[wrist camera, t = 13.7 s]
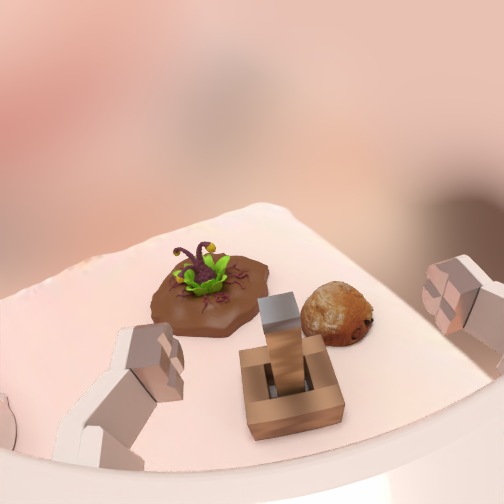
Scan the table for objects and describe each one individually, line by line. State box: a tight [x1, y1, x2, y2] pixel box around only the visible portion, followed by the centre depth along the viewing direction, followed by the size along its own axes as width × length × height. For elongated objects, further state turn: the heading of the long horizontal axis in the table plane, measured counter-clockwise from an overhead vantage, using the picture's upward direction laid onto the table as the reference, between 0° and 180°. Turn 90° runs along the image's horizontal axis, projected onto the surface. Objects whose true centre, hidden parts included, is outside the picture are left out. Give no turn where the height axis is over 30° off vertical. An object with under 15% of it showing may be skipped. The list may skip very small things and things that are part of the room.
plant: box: [150, 242, 269, 338], centre depth 49 cm, size 20×20×11 cm
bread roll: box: [300, 281, 374, 346], centre depth 42 cm, size 10×10×8 cm
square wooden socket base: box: [239, 334, 345, 440], centre depth 32 cm, size 10×10×5 cm
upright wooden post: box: [258, 292, 305, 398], centre depth 29 cm, size 3×3×16 cm
